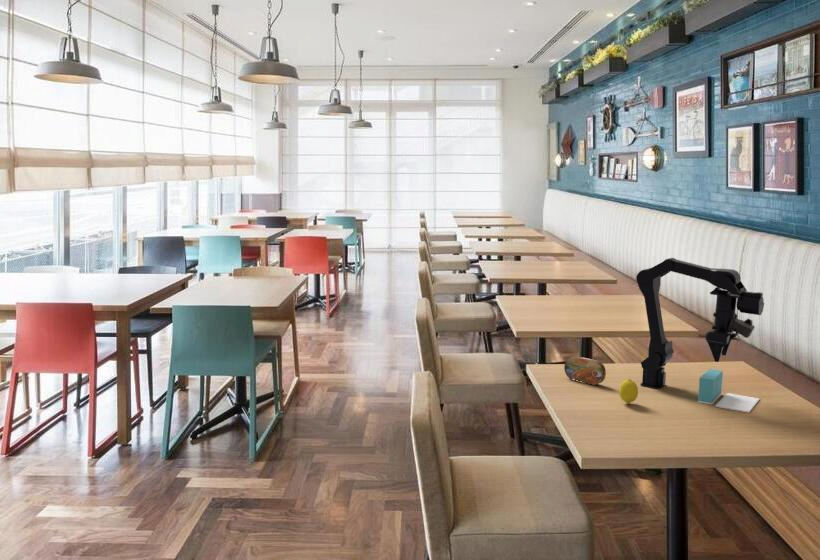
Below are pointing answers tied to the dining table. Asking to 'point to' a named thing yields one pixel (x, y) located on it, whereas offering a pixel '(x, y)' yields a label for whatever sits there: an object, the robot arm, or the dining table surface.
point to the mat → (737, 402)
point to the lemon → (628, 391)
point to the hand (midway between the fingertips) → (720, 358)
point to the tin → (585, 370)
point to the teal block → (710, 386)
